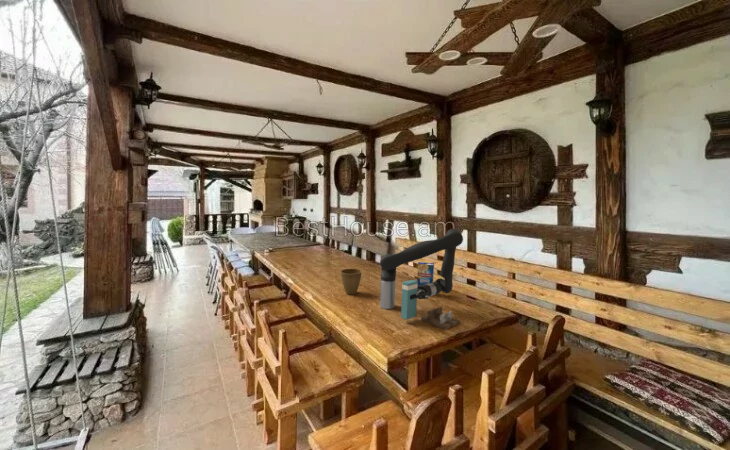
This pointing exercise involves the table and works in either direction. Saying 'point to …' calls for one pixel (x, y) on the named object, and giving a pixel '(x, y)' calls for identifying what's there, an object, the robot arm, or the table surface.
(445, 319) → the book rack
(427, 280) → the blue food box
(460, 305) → the table surface
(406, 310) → the book
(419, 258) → the robot arm
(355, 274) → the plant pot
